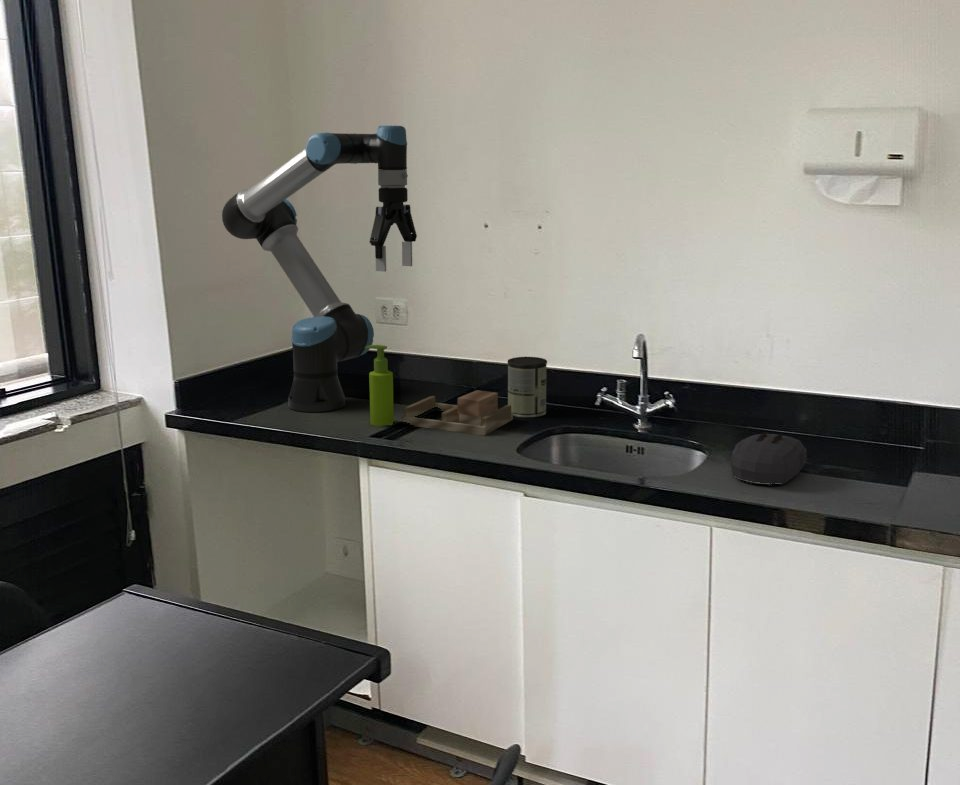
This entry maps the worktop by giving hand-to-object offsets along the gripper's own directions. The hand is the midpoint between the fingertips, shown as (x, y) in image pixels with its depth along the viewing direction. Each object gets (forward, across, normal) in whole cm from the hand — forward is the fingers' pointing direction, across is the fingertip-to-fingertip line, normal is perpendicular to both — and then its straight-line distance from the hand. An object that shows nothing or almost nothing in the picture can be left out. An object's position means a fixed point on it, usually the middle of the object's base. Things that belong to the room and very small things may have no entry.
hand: (394, 268), depth 269 cm
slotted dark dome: (+37, -19, -103) cm, 111 cm away
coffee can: (+37, +6, -36) cm, 52 cm away
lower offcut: (+37, -11, -30) cm, 49 cm away
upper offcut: (+33, -11, -30) cm, 46 cm away
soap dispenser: (+37, -20, -7) cm, 43 cm away
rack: (+37, -10, -24) cm, 45 cm away
